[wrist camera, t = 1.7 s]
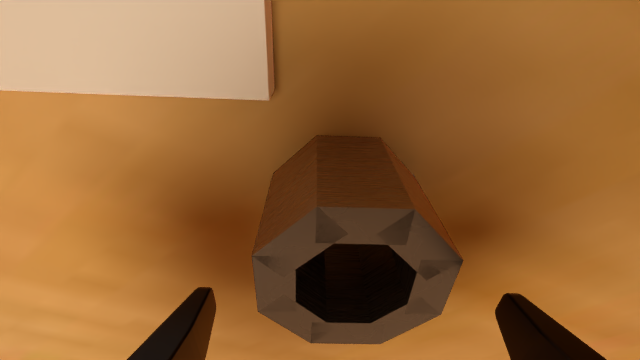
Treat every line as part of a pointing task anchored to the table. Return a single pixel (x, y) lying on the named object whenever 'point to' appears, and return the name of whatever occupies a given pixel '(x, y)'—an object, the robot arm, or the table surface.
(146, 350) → the robot arm
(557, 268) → the table surface
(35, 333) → the table surface
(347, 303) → the steel collar
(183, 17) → the post block
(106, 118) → the table surface
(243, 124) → the table surface
